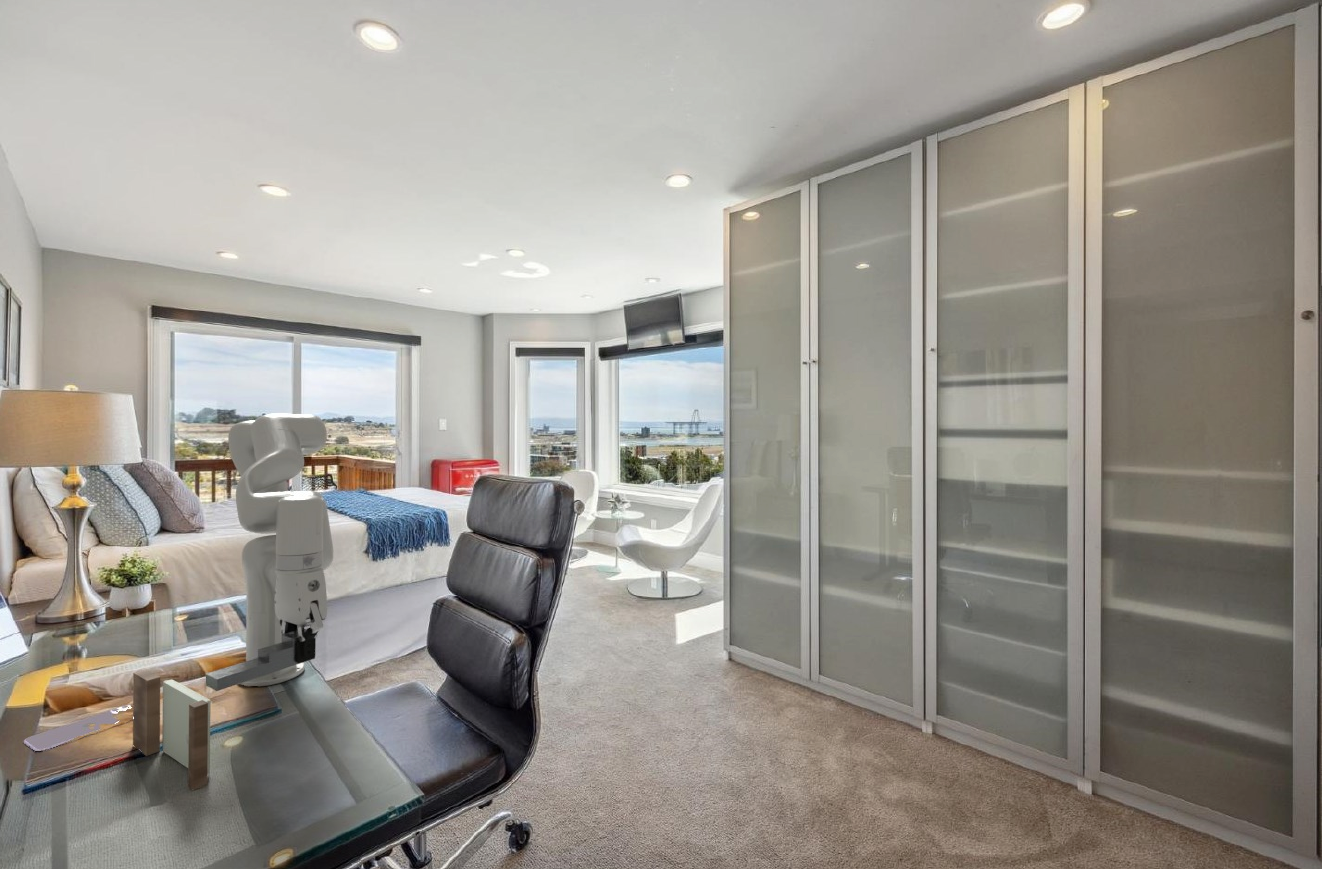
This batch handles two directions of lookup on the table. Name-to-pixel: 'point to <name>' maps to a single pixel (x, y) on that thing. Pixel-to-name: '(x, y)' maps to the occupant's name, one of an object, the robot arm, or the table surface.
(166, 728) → the door
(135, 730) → the wooden posts
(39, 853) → the table surface
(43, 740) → the mobile phone
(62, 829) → the table surface
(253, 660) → the dark gray beam
